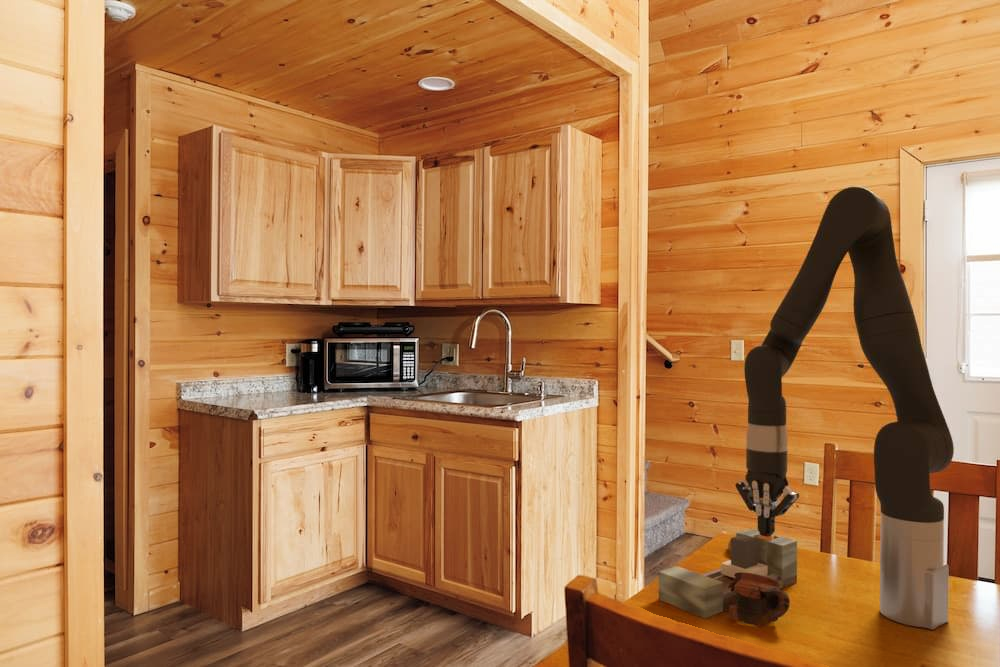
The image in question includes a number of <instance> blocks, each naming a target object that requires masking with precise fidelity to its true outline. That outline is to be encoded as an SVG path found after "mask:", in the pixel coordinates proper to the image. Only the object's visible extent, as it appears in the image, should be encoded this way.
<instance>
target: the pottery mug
mask: <svg viewBox="0 0 1000 667" xmlns="http://www.w3.org/2000/svg"><path fill="white" fill-rule="evenodd" d="M734 576H735V580H733V581H732V582H731V583H730V584H729V586H728V588H731V587H732V588H731V590H730V591H731V592H732V591H735V592H736V593H737V594H736V597H737V605H733V606H732V605H730V606H729V609H728V614H729V620H734V621H737V622H738V621H739V622H744V623H746V624H749V625H754V626H755V627H756V626H757V627H761V628H763V627H764V622H765V619H766V618H767V619H768V620H769V621H770V623H774V622H777V621H778V620H779V618H782V617H783V616H784V615H785V614H786V613H787V612H788V611H789V608H790V604H791V601H790V597H789V596H788V593H787V592H785V591H783V590H782V589H779V587H780V583H779V582H777V581H776V580H774V579H772V578H769V577H766V576H762V575H758V574H752V573H743V572H740V573H735V575H734Z"/></svg>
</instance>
